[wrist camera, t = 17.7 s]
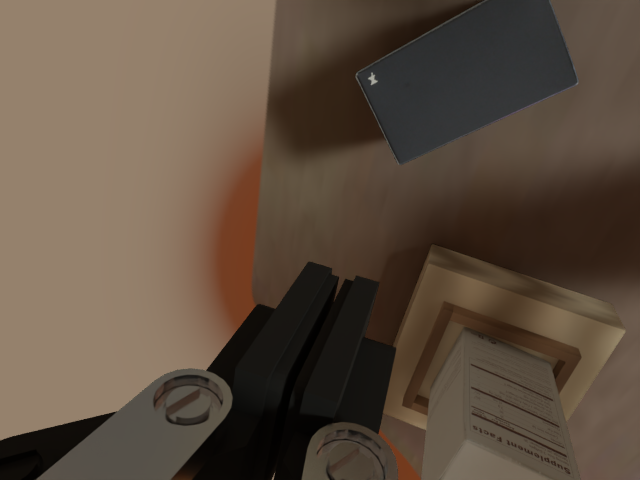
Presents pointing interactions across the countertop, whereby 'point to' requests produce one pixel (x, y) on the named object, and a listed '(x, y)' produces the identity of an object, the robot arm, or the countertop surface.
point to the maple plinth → (496, 328)
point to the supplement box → (495, 416)
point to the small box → (467, 75)
